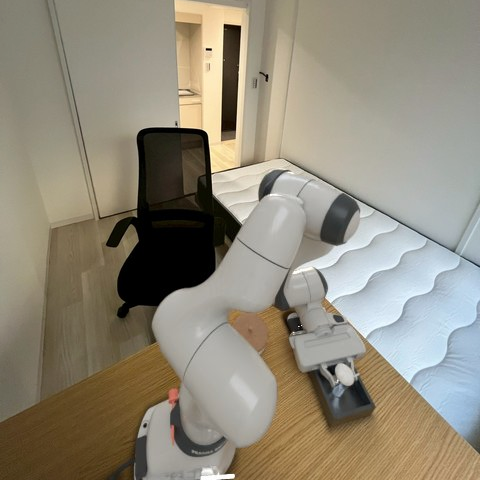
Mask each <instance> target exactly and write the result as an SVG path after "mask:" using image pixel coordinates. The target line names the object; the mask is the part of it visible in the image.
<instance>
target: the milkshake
mask: <svg viewBox="0 0 480 480" xmlns="http://www.w3.org/2000/svg"><path fill="white" fill-rule="evenodd" d="M334 375H335V378H336V380H337V381H338V383H339V385H338V387H334V388H332V387H331V386H330V388H331V391H332V393H333V394H334V395H335V396H337V397H341V396H342V395H343V394H344V393H345V392H346V390H347V389H348V388H349V387H350V386H351V385H352V384H353V383H354V377H356V376H358V375H359V376H360V375H361V373H360V372H358V373H357V374H355V375H353V372H352V370H351V369H350V368H349V367H348V366H347V365H345V364H342V363H339V364H337V366H336V368H335V372H334ZM334 375H333V376H334Z"/></svg>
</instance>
